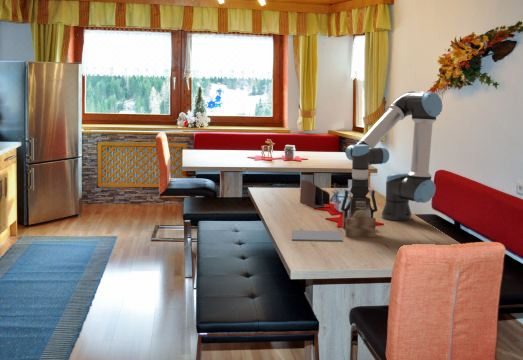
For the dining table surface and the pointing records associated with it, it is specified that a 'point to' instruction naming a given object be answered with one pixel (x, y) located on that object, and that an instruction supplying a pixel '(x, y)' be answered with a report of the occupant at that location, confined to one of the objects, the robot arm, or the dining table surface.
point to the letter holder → (313, 195)
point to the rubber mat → (316, 235)
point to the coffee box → (359, 207)
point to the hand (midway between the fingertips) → (358, 225)
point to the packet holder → (359, 226)
